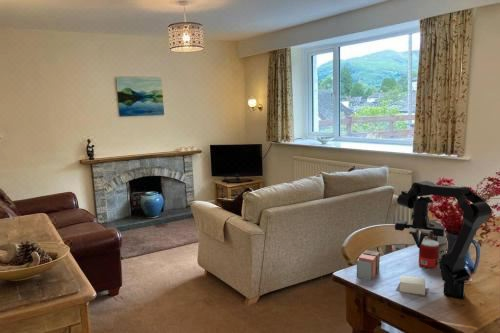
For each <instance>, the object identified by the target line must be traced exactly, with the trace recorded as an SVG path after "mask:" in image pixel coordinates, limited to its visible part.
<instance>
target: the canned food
mask: <svg viewBox="0 0 500 333" xmlns="http://www.w3.org/2000/svg"><path fill="white" fill-rule="evenodd" d="M438 258H439V243H438V242H437V241H434V240H428V239H425V240H424V239H423V241H422V244H421V246H420V248H418V265H419V266H420V267H421V268H422V269H423V268H424V269H428V270H434V269H437V268H438V267H439V259H438Z"/></svg>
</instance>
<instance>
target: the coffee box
mask: <svg viewBox="0 0 500 333" xmlns="http://www.w3.org/2000/svg"><path fill="white" fill-rule="evenodd" d="M440 221H441V220H437V219H429V225H427V227H434V226H435V225H440V226H441V223H440ZM425 239H428V240H434V241H437V242H438V243H439V258H438V260H441V258H442V255H443V254H446V251H447V240H446V236H445V234H444V236H435V235H434V234H433V232H430V233H429V235H428V236H425V237H424V239H423V240H425Z"/></svg>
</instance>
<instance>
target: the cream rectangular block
mask: <svg viewBox="0 0 500 333" xmlns="http://www.w3.org/2000/svg"><path fill="white" fill-rule="evenodd" d="M399 280H400V281H399V283H400V292H399V293H403V292H407V293H414V294H421V295H425V288H426V278H423V277H416V276H408V275H400V279H399ZM407 293H406V294H407Z"/></svg>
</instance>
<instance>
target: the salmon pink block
mask: <svg viewBox="0 0 500 333" xmlns="http://www.w3.org/2000/svg"><path fill="white" fill-rule="evenodd" d="M358 258H359V260H361V261H366V262H372V265H371V280H374V278H375V277H376V274H375V273H376V256H370V255H365V254H363V253H361V254H360V255H359V256H358Z"/></svg>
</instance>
